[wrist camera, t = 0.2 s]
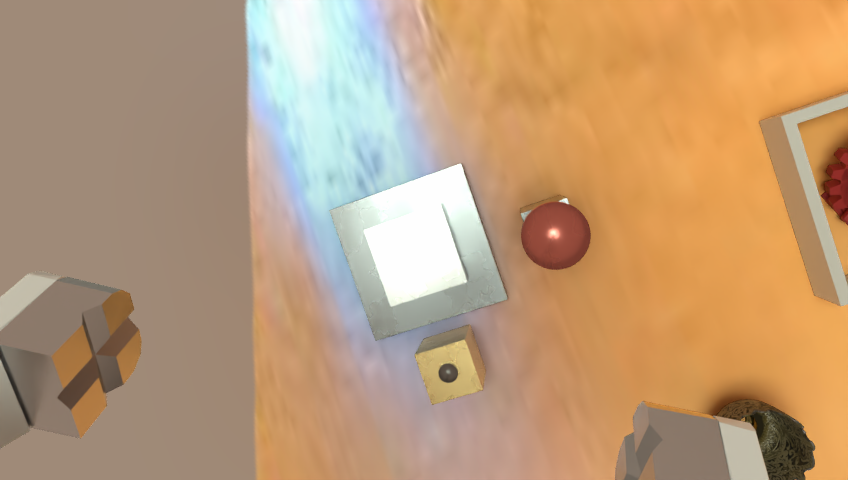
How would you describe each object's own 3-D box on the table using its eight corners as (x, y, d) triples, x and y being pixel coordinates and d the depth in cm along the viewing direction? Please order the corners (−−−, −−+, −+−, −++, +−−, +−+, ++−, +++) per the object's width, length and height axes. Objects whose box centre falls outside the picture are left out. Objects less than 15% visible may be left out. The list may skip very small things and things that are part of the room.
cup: (682, 401, 62) (705, 434, 54) (754, 368, 61) (789, 397, 53) (718, 468, 62) (747, 510, 55) (791, 436, 61) (831, 475, 53)
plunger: (584, 242, 57) (599, 257, 47) (531, 259, 58) (533, 278, 48) (567, 189, 57) (578, 192, 47) (513, 207, 58) (512, 214, 47)
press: (586, 272, 62) (597, 288, 53) (378, 337, 66) (356, 363, 57) (540, 135, 62) (543, 129, 53) (332, 209, 65) (303, 215, 57)
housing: (485, 370, 65) (482, 391, 59) (439, 384, 66) (431, 406, 60) (470, 324, 65) (464, 340, 58) (423, 338, 66) (413, 355, 59)
